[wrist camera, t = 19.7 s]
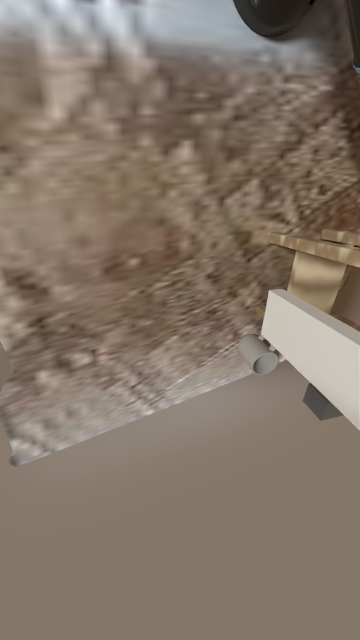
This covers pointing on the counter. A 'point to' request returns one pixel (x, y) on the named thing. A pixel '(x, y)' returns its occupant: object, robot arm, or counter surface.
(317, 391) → the grey square bar
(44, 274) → the counter surface
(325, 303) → the stand
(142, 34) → the counter surface
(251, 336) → the cup
